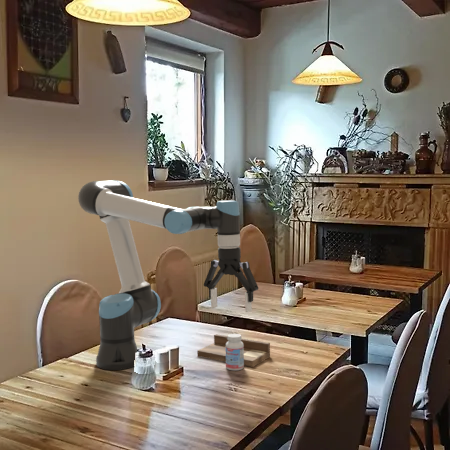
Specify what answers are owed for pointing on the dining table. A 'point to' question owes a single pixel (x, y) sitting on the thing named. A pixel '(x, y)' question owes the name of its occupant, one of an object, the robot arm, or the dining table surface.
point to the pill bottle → (234, 352)
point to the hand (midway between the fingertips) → (231, 309)
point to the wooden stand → (252, 350)
